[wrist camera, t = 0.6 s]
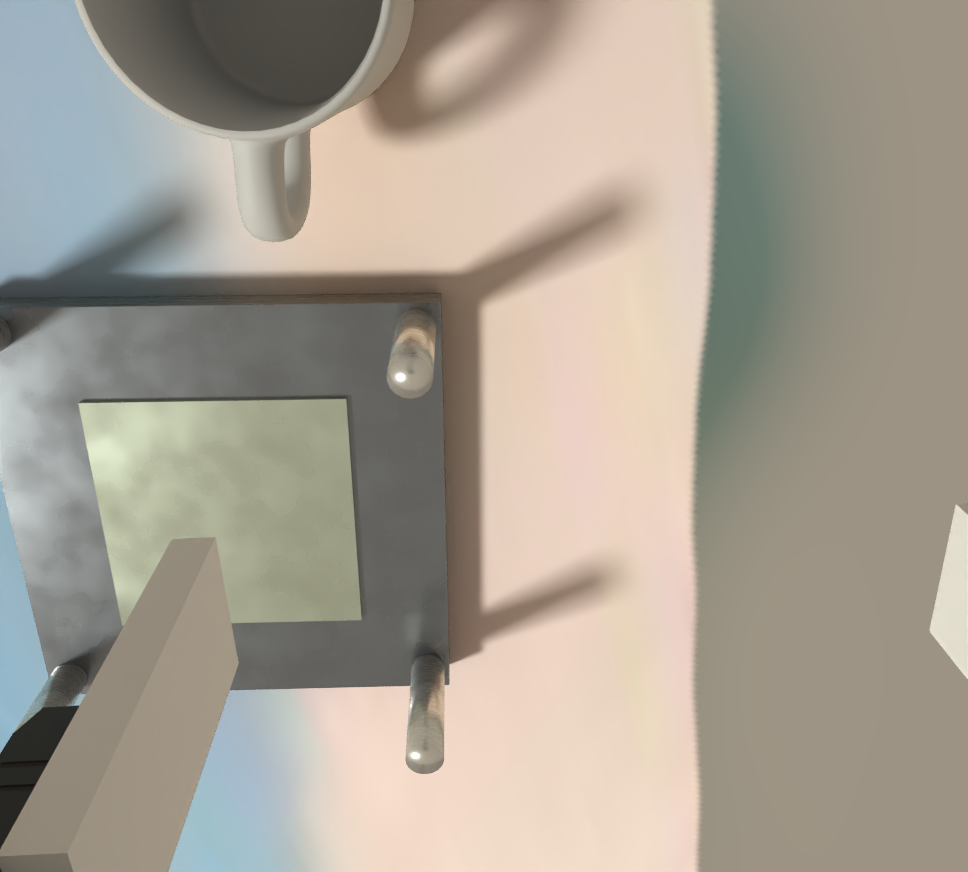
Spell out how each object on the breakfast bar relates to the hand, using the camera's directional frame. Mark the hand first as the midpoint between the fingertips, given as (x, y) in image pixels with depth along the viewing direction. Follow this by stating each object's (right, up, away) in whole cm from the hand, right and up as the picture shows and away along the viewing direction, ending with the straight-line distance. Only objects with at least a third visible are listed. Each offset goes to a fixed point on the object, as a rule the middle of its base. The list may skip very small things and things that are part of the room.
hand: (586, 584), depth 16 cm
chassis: (-13, 0, +25) cm, 28 cm away
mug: (-9, +17, +17) cm, 26 cm away
